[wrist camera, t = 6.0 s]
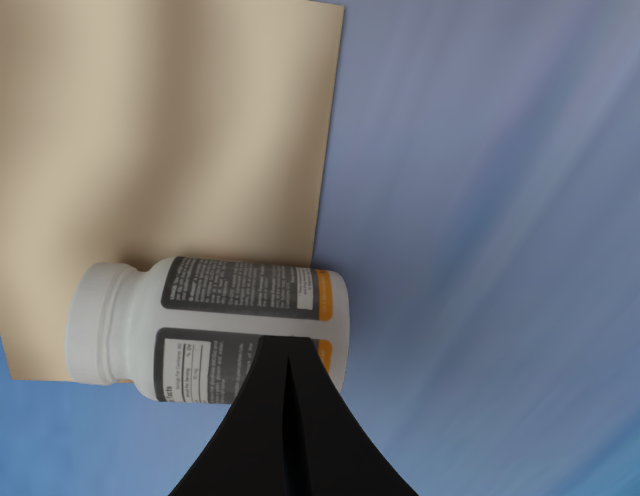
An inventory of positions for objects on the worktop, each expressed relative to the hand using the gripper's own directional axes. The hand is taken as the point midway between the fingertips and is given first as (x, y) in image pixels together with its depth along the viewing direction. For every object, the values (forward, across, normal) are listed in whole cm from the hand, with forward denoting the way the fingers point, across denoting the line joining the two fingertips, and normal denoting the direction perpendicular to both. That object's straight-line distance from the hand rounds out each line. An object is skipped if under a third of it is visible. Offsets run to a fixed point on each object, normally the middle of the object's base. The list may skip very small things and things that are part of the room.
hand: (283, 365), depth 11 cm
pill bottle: (+6, -3, +3) cm, 7 cm away
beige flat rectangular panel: (+9, +6, 0) cm, 10 cm away
